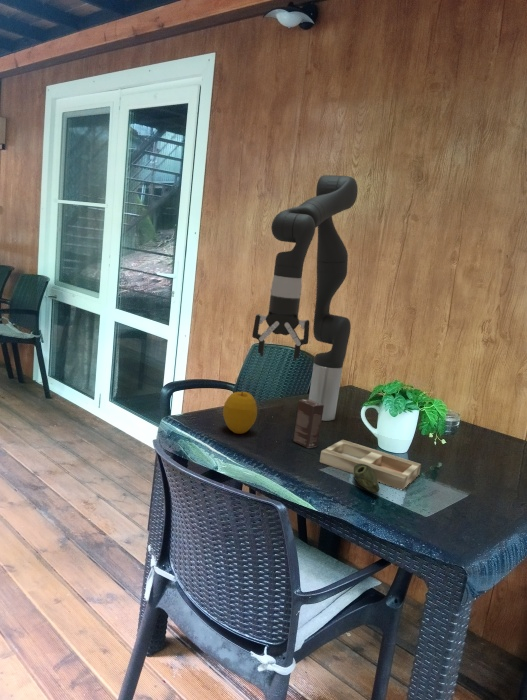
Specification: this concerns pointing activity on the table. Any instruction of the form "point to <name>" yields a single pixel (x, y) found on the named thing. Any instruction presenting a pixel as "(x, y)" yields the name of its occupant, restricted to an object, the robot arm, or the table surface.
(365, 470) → the decorative stone
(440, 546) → the table surface
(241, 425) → the apple
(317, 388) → the robot arm
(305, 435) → the box
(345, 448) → the socket board
